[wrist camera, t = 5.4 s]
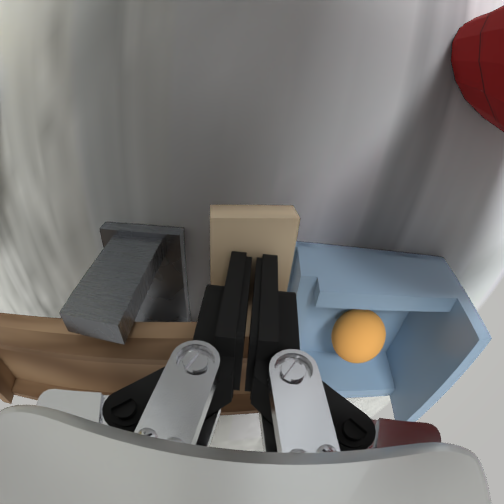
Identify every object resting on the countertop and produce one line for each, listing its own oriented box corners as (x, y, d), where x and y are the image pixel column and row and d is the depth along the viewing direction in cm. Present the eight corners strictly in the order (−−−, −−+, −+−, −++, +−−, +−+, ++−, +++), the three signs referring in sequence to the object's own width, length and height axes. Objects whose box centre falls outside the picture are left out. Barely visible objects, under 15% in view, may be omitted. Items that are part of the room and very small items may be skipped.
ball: (328, 305, 17) (364, 347, 14) (369, 290, 18) (404, 326, 16) (315, 342, 19) (344, 382, 16) (354, 326, 20) (383, 361, 18)
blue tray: (293, 241, 16) (302, 342, 11) (442, 256, 16) (491, 338, 11) (272, 351, 22) (270, 435, 16) (390, 354, 22) (408, 427, 16)
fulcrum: (105, 221, 16) (41, 303, 10) (183, 227, 16) (139, 324, 10) (133, 335, 22) (105, 411, 16) (193, 345, 22) (174, 427, 16)
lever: (-65, 223, 8) (-96, 257, 6) (293, 205, 11) (318, 252, 8) (17, 372, 15) (7, 405, 13) (261, 386, 18) (268, 426, 16)
